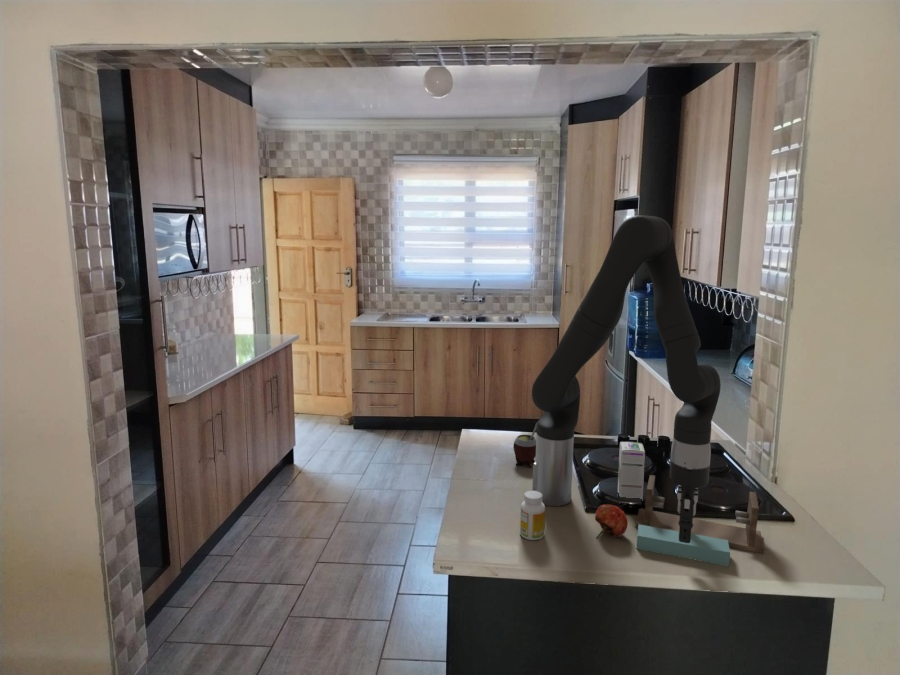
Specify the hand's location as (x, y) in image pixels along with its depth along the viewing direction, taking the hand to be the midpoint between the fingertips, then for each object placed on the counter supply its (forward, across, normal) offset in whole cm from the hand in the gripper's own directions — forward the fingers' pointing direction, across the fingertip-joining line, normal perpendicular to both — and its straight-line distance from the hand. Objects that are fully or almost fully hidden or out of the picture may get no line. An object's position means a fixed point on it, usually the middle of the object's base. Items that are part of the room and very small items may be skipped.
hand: (685, 531), depth 121 cm
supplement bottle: (+4, +6, -32) cm, 32 cm away
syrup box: (+4, -20, -13) cm, 24 cm away
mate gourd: (+4, -31, -43) cm, 53 cm away
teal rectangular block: (+5, 0, 0) cm, 5 cm away
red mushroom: (+5, -1, -16) cm, 16 cm away
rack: (+5, -10, +2) cm, 11 cm away
